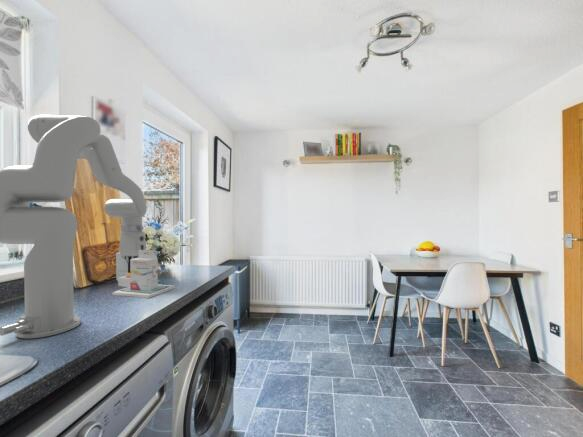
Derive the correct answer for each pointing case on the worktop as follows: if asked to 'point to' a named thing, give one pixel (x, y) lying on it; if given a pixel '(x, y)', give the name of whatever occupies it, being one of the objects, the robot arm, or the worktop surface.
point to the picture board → (144, 291)
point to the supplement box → (121, 266)
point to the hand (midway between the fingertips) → (132, 272)
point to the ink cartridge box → (144, 271)
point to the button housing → (124, 281)
